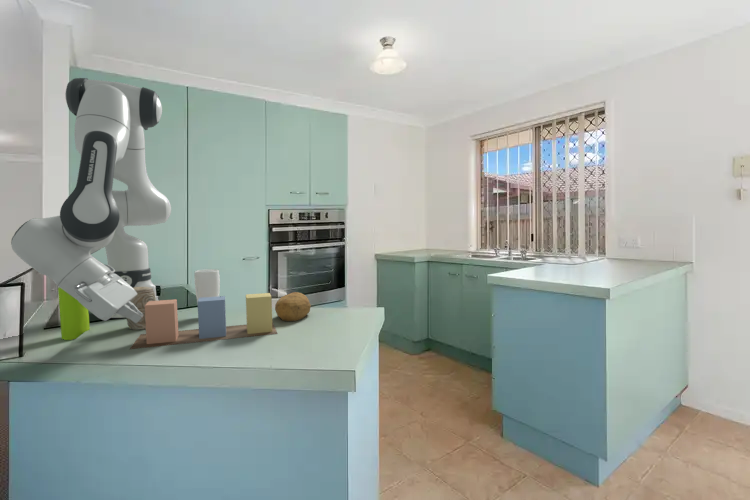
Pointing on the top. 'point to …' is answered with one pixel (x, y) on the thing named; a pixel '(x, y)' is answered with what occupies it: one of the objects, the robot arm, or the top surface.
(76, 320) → the soap dispenser
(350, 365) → the top surface
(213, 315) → the slate block
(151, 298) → the carving
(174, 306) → the terracotta block
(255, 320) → the ochre block
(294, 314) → the potato
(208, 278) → the white rectangular block
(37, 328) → the top surface
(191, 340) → the walnut board
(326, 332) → the top surface
